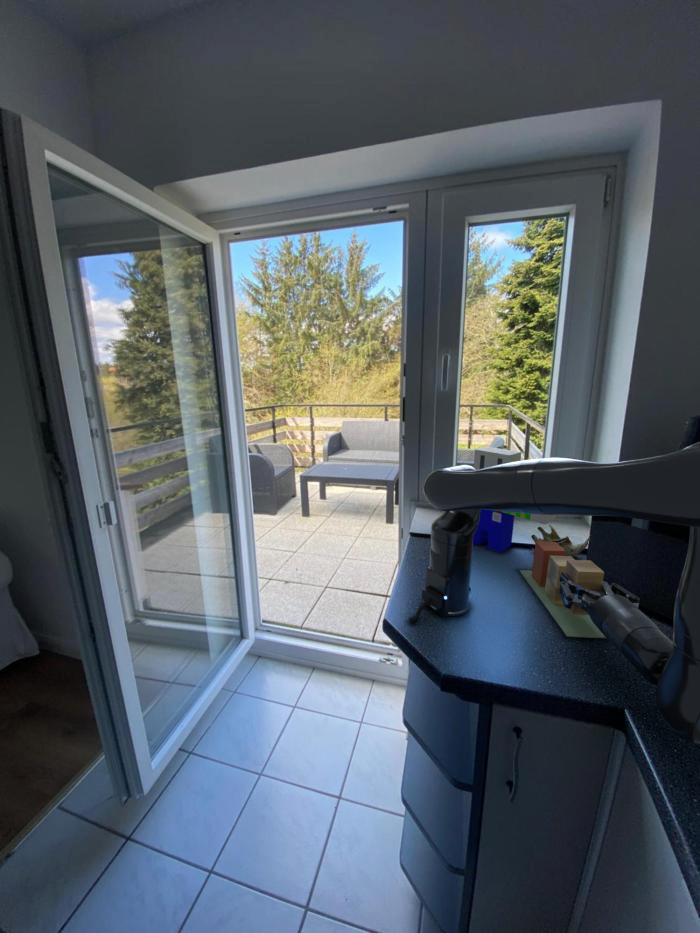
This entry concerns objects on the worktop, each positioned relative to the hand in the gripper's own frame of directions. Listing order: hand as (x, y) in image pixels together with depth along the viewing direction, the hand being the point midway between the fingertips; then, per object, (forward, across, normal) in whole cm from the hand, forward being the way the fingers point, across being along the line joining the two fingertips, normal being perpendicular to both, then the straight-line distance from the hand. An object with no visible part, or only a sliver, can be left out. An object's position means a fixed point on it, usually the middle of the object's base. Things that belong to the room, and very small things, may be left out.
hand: (575, 576), depth 81 cm
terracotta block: (+13, 0, +9) cm, 15 cm away
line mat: (+5, 0, +9) cm, 11 cm away
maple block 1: (+5, 0, +9) cm, 10 cm away
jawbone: (+29, -11, +9) cm, 32 cm away
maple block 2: (-3, 0, +6) cm, 7 cm away
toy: (+34, +8, +9) cm, 37 cm away
